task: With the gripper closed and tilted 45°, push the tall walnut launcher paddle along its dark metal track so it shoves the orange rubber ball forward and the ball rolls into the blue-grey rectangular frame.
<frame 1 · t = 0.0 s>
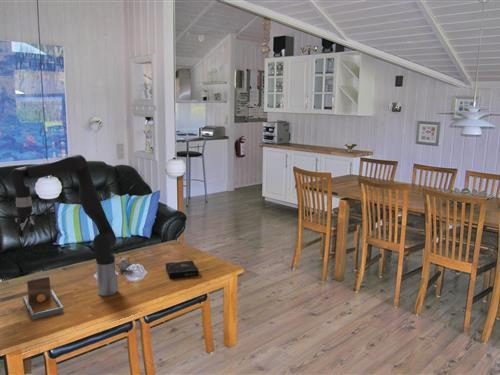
hand: (26, 234, 237), 29 cm above the table, tool pointing down, fingers open, 8 cm apart
blue-grey rectangular frame: (46, 311, 214), on the table
portable cd player: (181, 273, 264), on the table
ball: (41, 298, 224), point 2 cm above the table
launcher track: (39, 298, 227), on the table
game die: (124, 271, 265), on the table
launcher paddle: (39, 288, 226), point 6 cm above the table, slide at 0.0 cm
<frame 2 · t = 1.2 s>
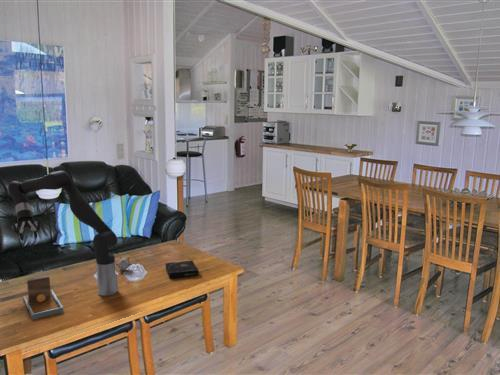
hand: (29, 239, 235), 27 cm above the table, tool tilted 45°, fingers open, 5 cm apart
nothing on the table moved.
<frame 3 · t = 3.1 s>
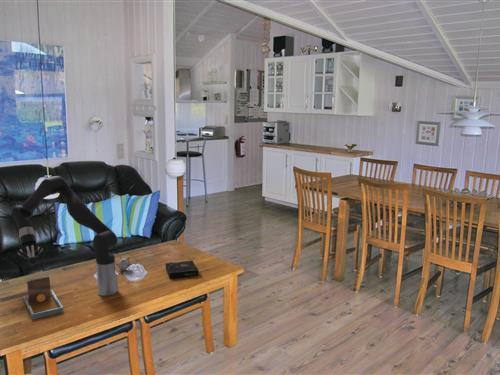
hand: (33, 264, 236), 14 cm above the table, tool tilted 45°, fingers closed
nothing on the table moved.
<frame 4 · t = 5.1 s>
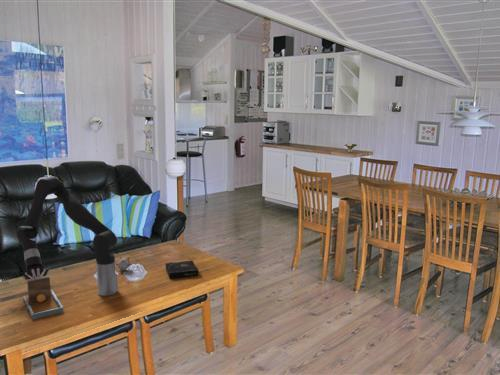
hand: (38, 288, 228), 5 cm above the table, tool tilted 45°, fingers closed
launcher paddle: (39, 288, 226), point 6 cm above the table, slide at 0.4 cm, touching gripper
everything else where it was.
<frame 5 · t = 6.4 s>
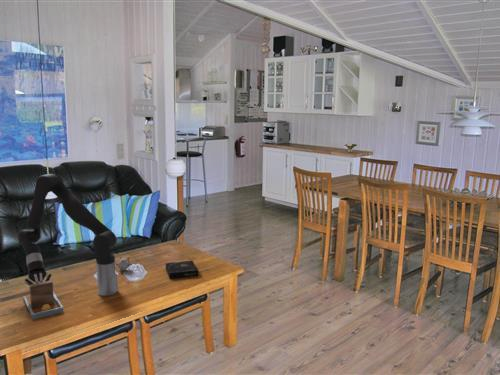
hand: (41, 294, 221), 5 cm above the table, tool tilted 45°, fingers closed
ball: (46, 308, 213), point 2 cm above the table, tilted 26°
launcher paddle: (41, 293, 220), point 6 cm above the table, slide at 8.1 cm, touching gripper
everything else where it was.
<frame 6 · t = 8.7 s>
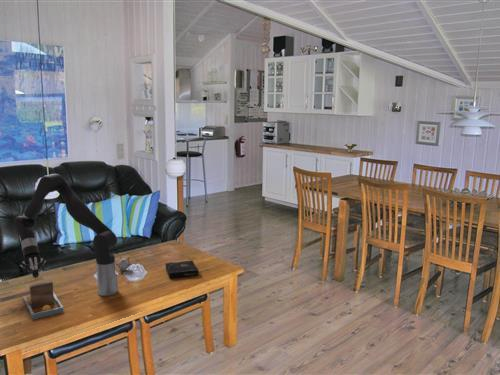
hand: (36, 277, 230), 10 cm above the table, tool tilted 45°, fingers closed
ball: (46, 309, 212), point 2 cm above the table, tilted 51°
launcher paddle: (41, 293, 220), point 6 cm above the table, slide at 8.1 cm
everything else where it was.
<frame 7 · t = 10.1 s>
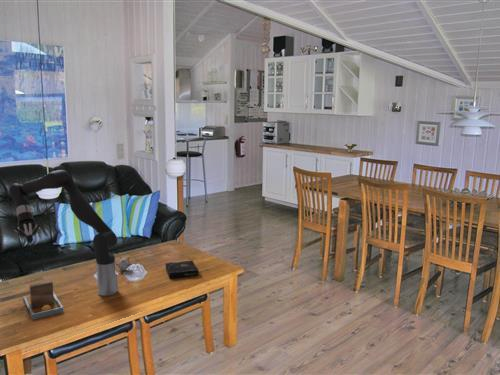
hand: (30, 242, 235), 26 cm above the table, tool tilted 45°, fingers closed
ball: (46, 309, 212), point 2 cm above the table, tilted 43°
everything else where it was.
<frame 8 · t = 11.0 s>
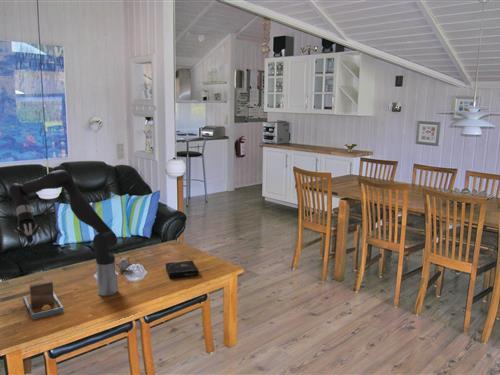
hand: (30, 242, 235), 26 cm above the table, tool tilted 45°, fingers closed
ball: (46, 308, 212), point 2 cm above the table, tilted 37°
everything else where it was.
at the end: ball 1.7 cm from the blue-grey rectangular frame (horizontally); launcher paddle slide at 8.1 cm; ball point 2.0 cm above the table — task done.
